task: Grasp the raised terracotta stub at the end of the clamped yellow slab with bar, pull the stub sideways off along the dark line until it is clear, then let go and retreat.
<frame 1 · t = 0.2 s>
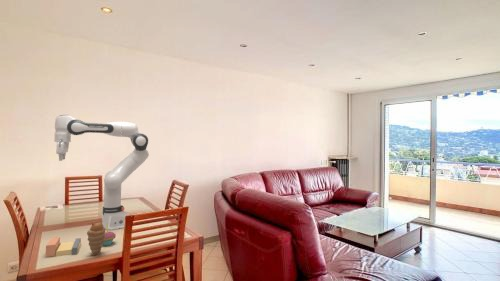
hand: (62, 160, 176), 47 cm above the table, fingers open, 8 cm apart
cat ice cream: (96, 254, 144), on the table
cupcake: (107, 244, 158), on the table
stub: (53, 246, 144), point 3 cm above the table, slide at 0.0 cm
yellow slab with bar: (68, 250, 148), on the table
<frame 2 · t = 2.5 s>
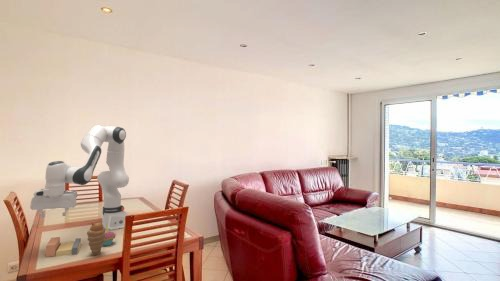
hand: (53, 216, 144), 20 cm above the table, fingers open, 8 cm apart
nothing on the table moved.
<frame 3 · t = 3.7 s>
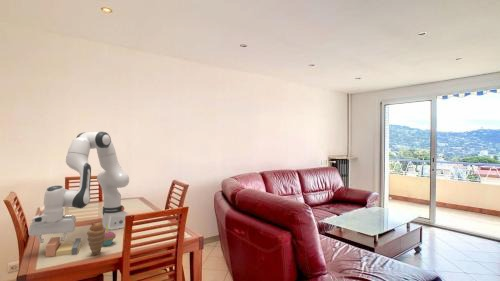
hand: (52, 241, 144), 6 cm above the table, fingers open, 8 cm apart
nothing on the table moved.
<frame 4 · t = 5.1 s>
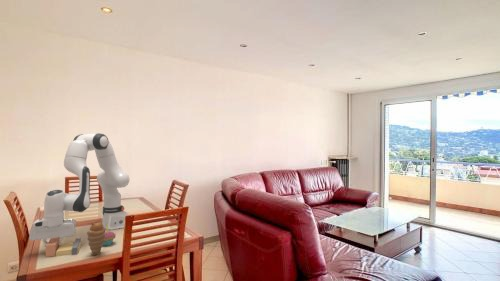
hand: (53, 245, 144), 4 cm above the table, fingers closed on stub, 4 cm apart
stub: (53, 246, 144), point 3 cm above the table, slide at 0.0 cm, touching gripper
everything else where it was.
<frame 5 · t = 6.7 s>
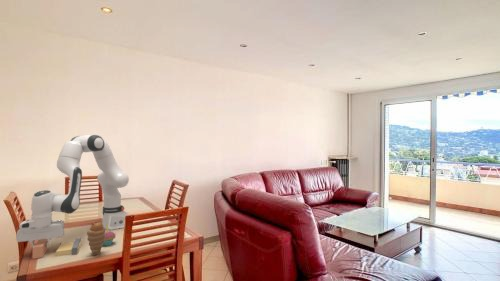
hand: (40, 247, 142), 4 cm above the table, fingers closed on stub, 4 cm apart
stub: (40, 247, 142), point 3 cm above the table, slide at 5.4 cm, touching gripper
everything else where it was.
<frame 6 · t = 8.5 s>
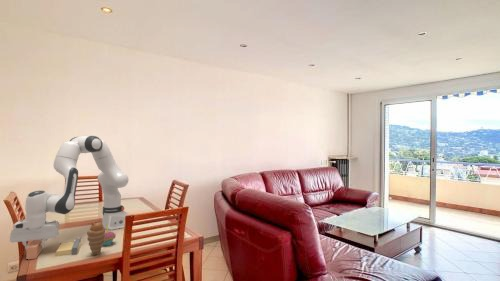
hand: (34, 247, 141), 4 cm above the table, fingers open, 5 cm apart
stub: (34, 248, 141), point 3 cm above the table, slide at 7.9 cm
everything else where it was.
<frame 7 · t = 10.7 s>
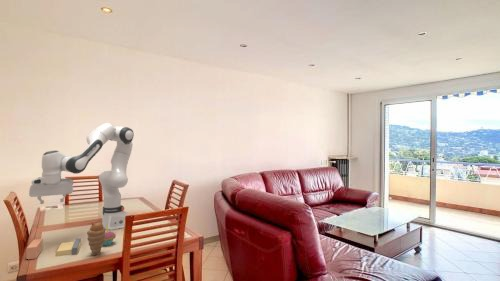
hand: (52, 202, 153), 25 cm above the table, fingers open, 8 cm apart
nothing on the table moved.
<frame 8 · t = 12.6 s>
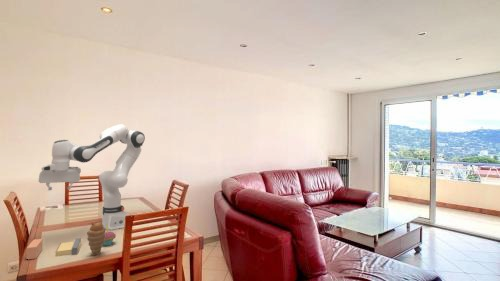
hand: (59, 189, 159), 31 cm above the table, fingers open, 8 cm apart
nothing on the table moved.
at the end: stub slide at 7.9 cm; the gripper is holding nothing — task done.
